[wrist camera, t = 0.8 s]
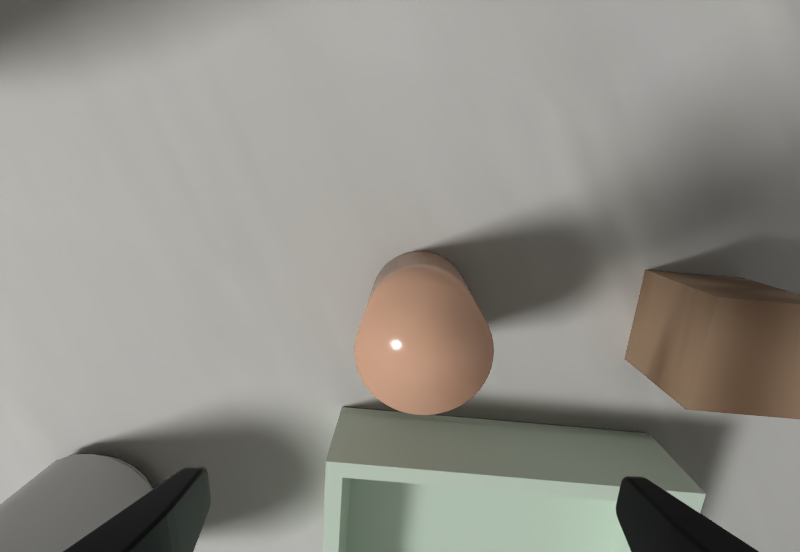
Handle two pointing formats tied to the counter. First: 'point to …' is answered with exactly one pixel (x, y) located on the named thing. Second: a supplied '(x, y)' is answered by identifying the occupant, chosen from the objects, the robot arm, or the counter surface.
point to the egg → (423, 337)
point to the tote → (483, 484)
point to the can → (68, 502)
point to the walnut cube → (719, 343)
